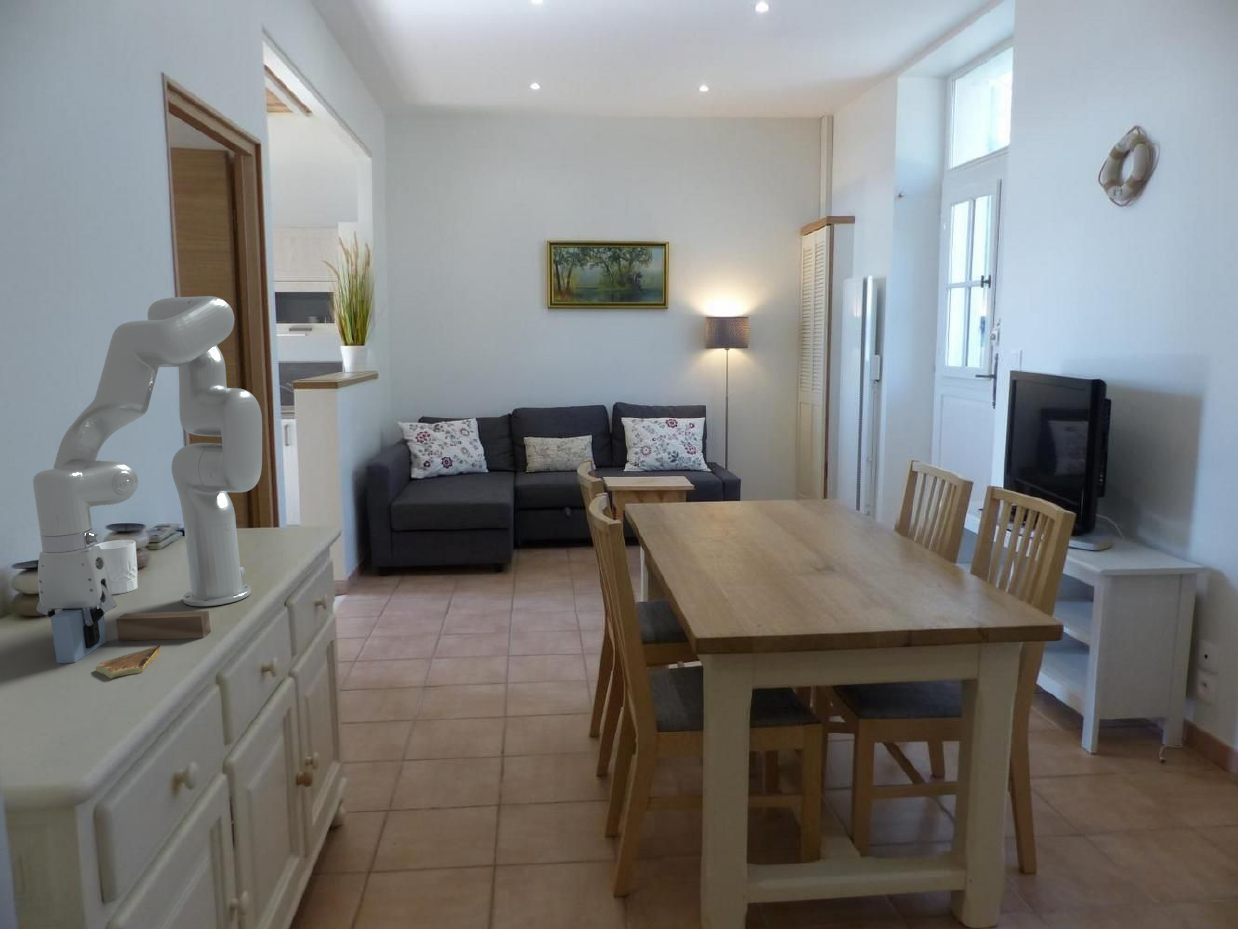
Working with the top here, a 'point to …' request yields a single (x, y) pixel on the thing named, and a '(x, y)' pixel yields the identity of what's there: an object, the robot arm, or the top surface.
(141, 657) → the shard
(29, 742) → the top surface
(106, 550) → the white cup
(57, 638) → the block
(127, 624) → the bar
